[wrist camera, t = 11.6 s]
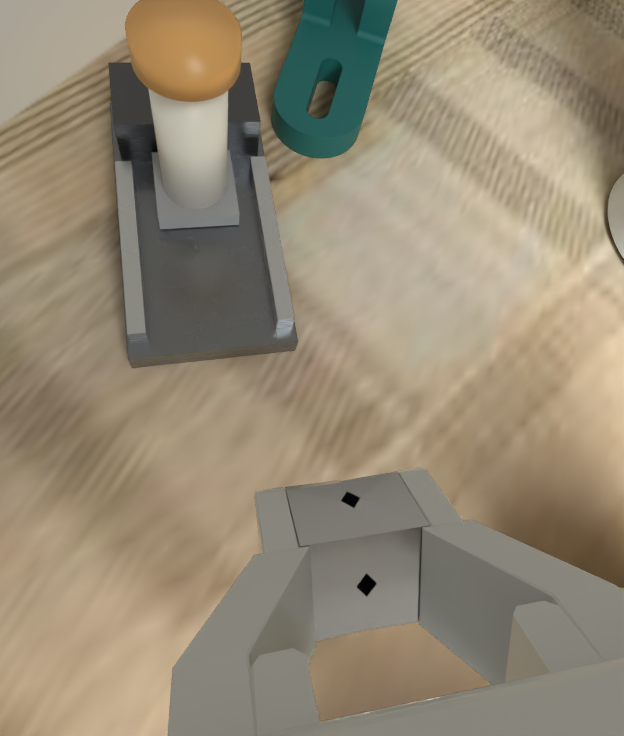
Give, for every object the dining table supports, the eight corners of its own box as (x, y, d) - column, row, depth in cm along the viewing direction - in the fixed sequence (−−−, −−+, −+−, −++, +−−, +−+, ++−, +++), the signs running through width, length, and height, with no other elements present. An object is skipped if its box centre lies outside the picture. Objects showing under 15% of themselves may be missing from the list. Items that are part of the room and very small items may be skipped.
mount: (294, 350, 35) (305, 318, 31) (132, 368, 33) (118, 336, 29) (253, 116, 41) (257, 62, 37) (113, 119, 39) (100, 62, 35)
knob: (240, 225, 36) (248, 72, 25) (158, 230, 35) (129, 73, 24) (230, 161, 37) (234, -9, 26) (151, 164, 36) (121, -13, 25)
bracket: (317, -11, 47) (335, -118, 40) (392, 13, 48) (422, -88, 40) (260, 143, 40) (269, 50, 33) (347, 171, 41) (374, 83, 34)
